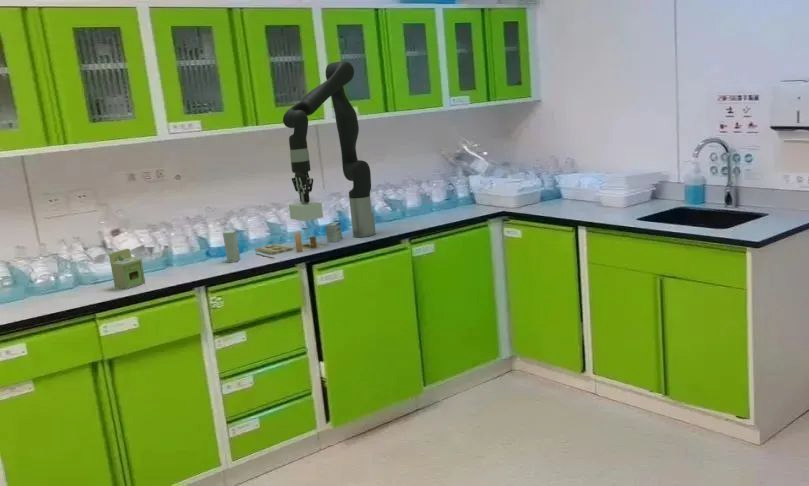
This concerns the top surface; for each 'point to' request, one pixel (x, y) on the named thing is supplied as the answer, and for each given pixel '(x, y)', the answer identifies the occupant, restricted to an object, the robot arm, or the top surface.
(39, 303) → the top surface
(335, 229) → the medicine box
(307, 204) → the cover
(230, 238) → the skincare box
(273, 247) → the build board
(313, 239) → the board
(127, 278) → the toy sink
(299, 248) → the peg
